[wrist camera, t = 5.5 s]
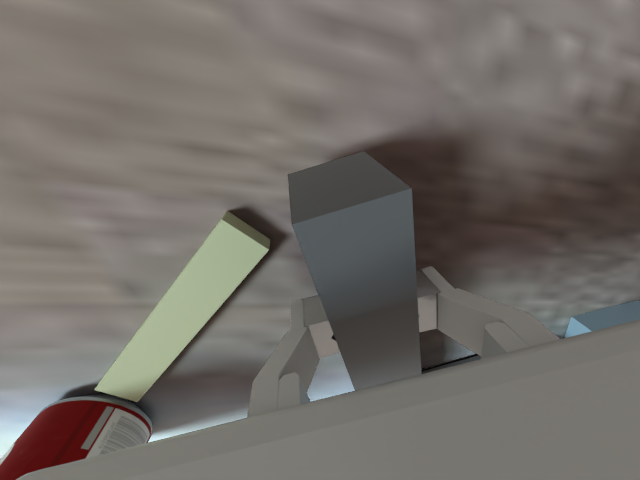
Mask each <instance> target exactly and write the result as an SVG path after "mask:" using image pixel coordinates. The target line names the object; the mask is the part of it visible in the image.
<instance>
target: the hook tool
mask: <svg viewBox="0 0 640 480" xmlns="http://www.w3.org/2000/svg"><path fill="white" fill-rule="evenodd" d="M288 182H289V195H290V208H291V221H292V226H293V229H294V232H295V234H296V237H297V240H298V242H299V245H300V247H301V250H302V253H303V255H304V258H305V260H306V263H307V266H308V268H309V271H310V274H311V276H312V279H313V281H314V284H315V287H316V289H317V292H318V294H319V297H320V300H321V302H322V305H323V308H324V310H325V313H326V315H327V318H328V321H329V323H330V326H331V329H332V331H333V334H334V336H335V339H336V342H337V344H338V347H339V349H340V352H341V355H342V357H343V360H344V363H345V365H346V368H347V370H348V373H349V376H350V378H351V381H352V383H353V386H354V389H355V391H356V390H360V389H364V388H368V387H372V386H376V385H380V384H384V383H388V382H392V381H396V380H400V379H404V378H408V377H412V376H416V375H420V374H424V373H428V372H432V371H436V370H440V369H444V368H448V367H452V366H456V365H460V364H464V363H468V362H472V361H476V360H480V359H481V356H475V357H472V358H468V359H465V360H461V361H457V362H454V363H450V364H447V365H443V366H440V367H436V368H432V369H429V370H425V371H422V372H421V353H420V334H419V315H418V296H417V277H416V258H415V240H414V221H413V202H412V188H411V187H410V186H408V185H407V184H406V183H404V182H403V181H402V180H401V179H399V178H398V177H397V176H395V175H394V174H393V173H391V172H390V171H389V170H388V169H386V168H385V167H384V166H382V165H381V164H380V163H379V162H377V161H376V160H375V159H373V158H372V157H371V156H370V155H368V154H367V153H366V152H364V151H362V152H359V153H356V154H353V155H350V156H346V157H343V158H340V159H337V160H333V161H330V162H327V163H324V164H320V165H317V166H314V167H311V168H307V169H304V170H301V171H298V172H294V173H291V174H288Z"/></svg>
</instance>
